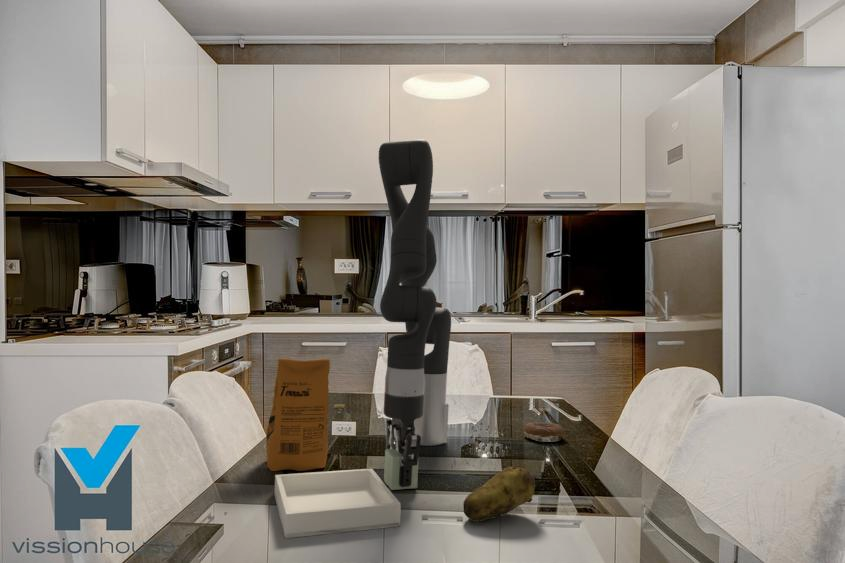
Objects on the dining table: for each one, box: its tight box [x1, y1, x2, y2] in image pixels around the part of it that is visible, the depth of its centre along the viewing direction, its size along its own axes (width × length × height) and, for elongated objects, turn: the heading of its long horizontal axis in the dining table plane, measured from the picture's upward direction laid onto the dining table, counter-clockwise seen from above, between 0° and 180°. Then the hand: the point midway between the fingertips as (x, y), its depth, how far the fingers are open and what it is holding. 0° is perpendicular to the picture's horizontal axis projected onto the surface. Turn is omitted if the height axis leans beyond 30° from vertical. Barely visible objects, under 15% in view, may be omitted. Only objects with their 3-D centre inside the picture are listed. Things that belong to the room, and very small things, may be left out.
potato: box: [463, 466, 536, 522], centre depth 93 cm, size 8×13×8 cm, turn 100°
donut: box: [522, 422, 565, 438], centre depth 146 cm, size 11×11×4 cm
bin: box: [273, 468, 402, 539], centre depth 92 cm, size 18×18×4 cm
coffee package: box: [265, 357, 331, 472], centre depth 115 cm, size 10×12×22 cm
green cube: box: [383, 447, 420, 491], centre depth 105 cm, size 5×5×6 cm
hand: (400, 480), depth 105 cm, fingers closed on green cube, 5 cm apart
